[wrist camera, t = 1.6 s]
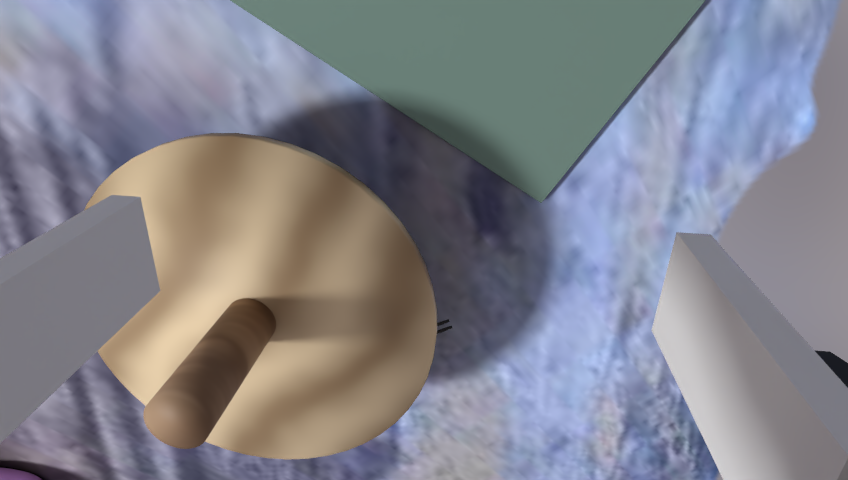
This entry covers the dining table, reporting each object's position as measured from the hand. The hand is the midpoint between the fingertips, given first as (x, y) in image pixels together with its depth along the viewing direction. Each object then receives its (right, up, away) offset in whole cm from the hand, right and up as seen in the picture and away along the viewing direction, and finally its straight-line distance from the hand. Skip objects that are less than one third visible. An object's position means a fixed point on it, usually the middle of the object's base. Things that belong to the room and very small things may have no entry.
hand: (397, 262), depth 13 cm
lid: (-11, -5, +25) cm, 28 cm away
